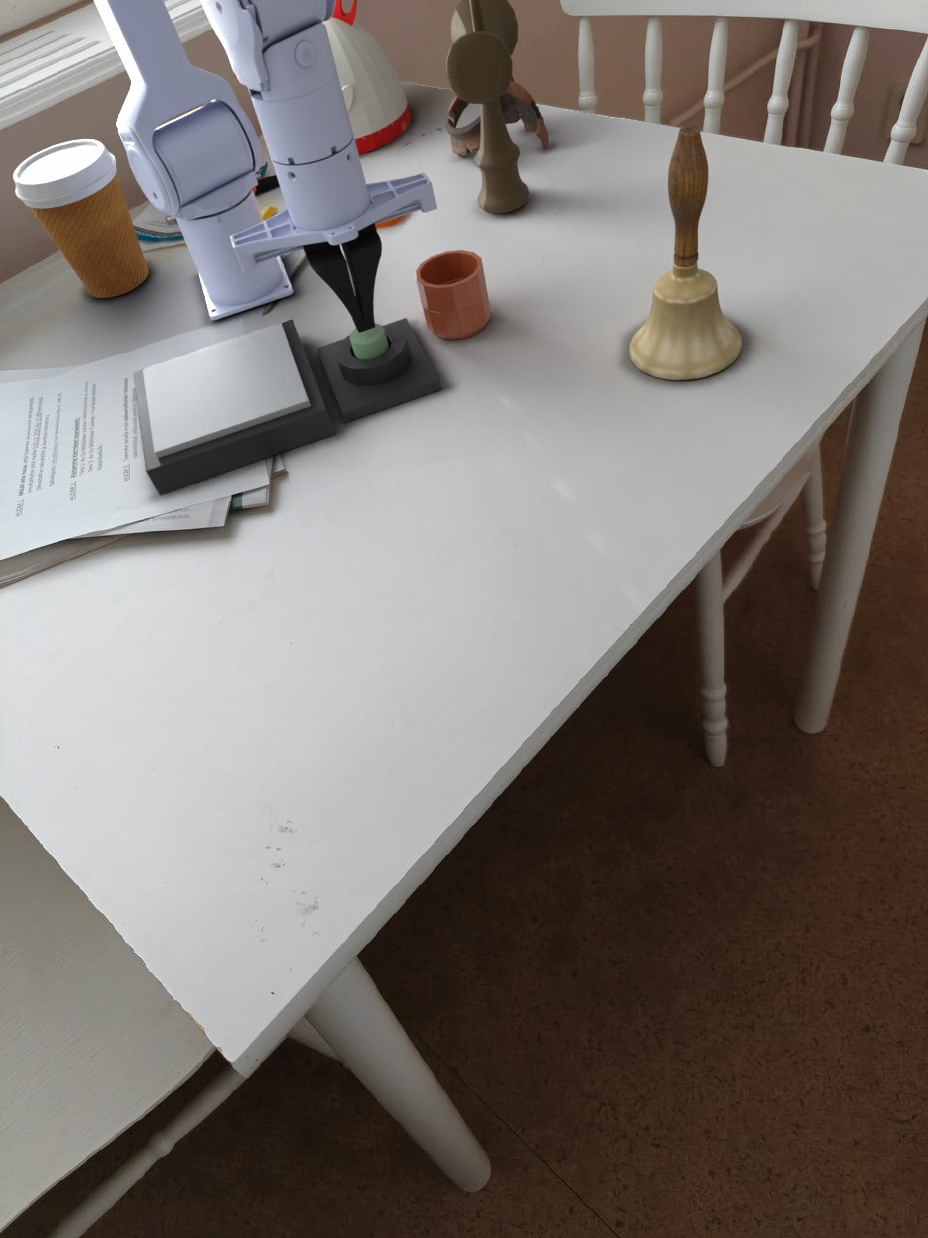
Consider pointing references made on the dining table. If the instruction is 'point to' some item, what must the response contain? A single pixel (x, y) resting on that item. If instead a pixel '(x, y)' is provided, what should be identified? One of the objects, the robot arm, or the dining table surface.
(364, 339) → the tare button
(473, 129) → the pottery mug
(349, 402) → the pad
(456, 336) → the terracotta flower pot
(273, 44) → the robot arm
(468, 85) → the kendama
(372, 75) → the kitchen timer
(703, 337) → the hand bell
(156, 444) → the scale
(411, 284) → the dining table surface
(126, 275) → the disposable coffee cup
